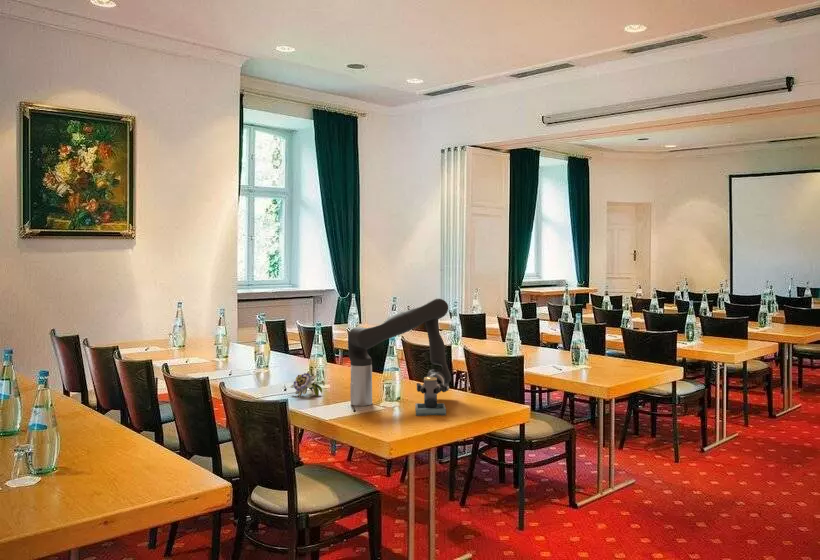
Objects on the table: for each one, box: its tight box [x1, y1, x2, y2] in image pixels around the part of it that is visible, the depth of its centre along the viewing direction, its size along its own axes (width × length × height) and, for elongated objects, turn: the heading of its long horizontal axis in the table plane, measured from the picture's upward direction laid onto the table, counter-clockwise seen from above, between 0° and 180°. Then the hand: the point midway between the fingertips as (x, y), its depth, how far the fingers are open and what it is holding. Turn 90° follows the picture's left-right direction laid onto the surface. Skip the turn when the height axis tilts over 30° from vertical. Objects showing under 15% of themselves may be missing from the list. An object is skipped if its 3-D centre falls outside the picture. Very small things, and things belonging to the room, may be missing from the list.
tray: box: [414, 402, 447, 417], centre depth 296 cm, size 12×12×2 cm
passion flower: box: [290, 370, 325, 398], centre depth 335 cm, size 13×12×14 cm
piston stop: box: [423, 376, 438, 408], centre depth 296 cm, size 5×5×12 cm
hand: (429, 391), depth 293 cm, fingers closed on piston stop, 5 cm apart
